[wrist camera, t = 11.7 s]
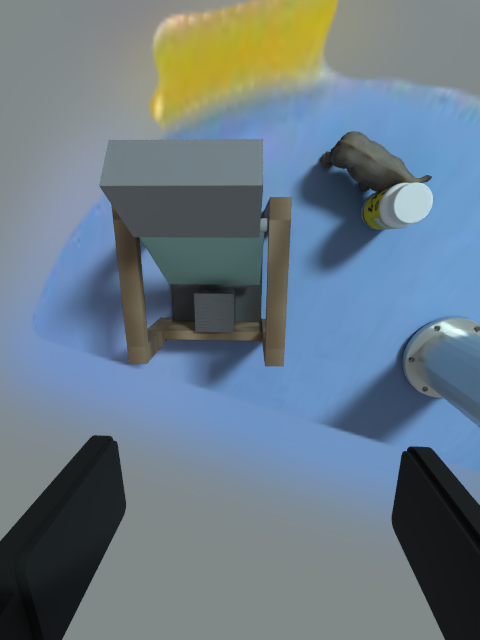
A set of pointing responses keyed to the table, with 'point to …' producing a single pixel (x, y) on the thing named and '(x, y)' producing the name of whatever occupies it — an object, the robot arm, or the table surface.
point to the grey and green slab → (192, 205)
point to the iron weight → (215, 309)
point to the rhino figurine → (369, 163)
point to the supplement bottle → (397, 206)
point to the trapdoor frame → (247, 296)
